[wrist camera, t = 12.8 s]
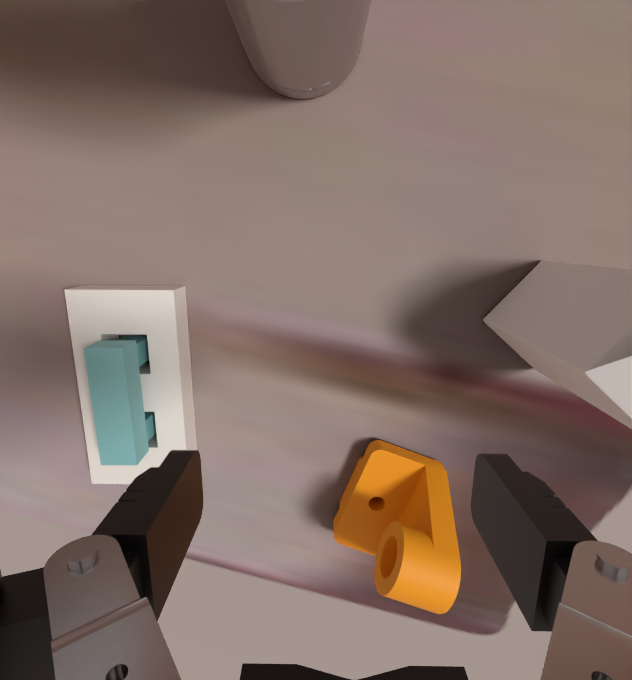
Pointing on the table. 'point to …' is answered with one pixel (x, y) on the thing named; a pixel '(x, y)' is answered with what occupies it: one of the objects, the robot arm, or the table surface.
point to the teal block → (119, 399)
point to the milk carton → (574, 330)
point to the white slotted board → (156, 378)
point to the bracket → (403, 525)
